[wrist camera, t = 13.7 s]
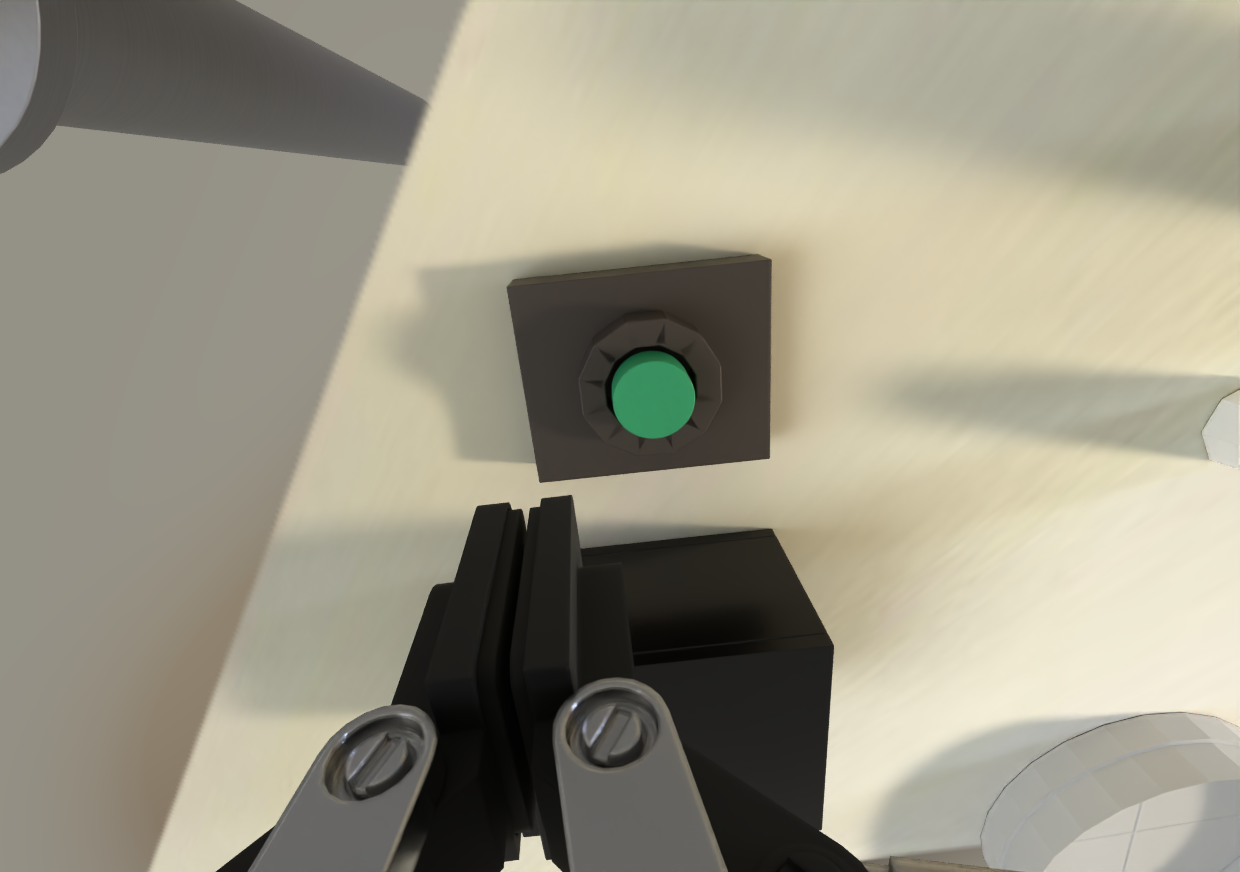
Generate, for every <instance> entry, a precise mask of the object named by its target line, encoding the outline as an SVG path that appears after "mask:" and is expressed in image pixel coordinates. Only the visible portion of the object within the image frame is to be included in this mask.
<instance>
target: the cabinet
mask: <svg viewBox="0 0 1240 872" xmlns="http://www.w3.org/2000/svg"><path fill="white" fill-rule="evenodd" d="M580 551H581V558H582V565H583V567H587V566H596V565H604V564H612V563H622V571H623V579H624V588H625V596H626V604H627V612H628V620H629V629H630V637H631V645H632V653H633V661H634V670H635V678H636V681H639V682H641V683H643V684H646V685H648V686H650V687H651V688H652V689H653V690H654V691H655V692H657V693H658V694H659V695H660V696H661V697H662V699H663V701H664V702H665V704H666V706H667V707H668V709H669V711H670V714H671V717H672V720H673V722H674V725H675V728H676V731H677V733H678V736H679V739H680V741H682V742H684V743H685V744H687V745H688V746H690V747H691V748H693V749H694V750H696V751H697V752H699V753H700V754H702V755H704V756H705V757H707V758H708V759H710V760H711V761H713V762H714V763H716V764H717V765H719V766H720V767H722V768H723V769H725V770H727V771H728V772H730V773H731V774H733V775H734V776H736V777H737V778H739V779H740V780H742V781H743V782H745V783H746V784H748V785H750V786H751V787H753V788H754V789H756V790H757V791H759V792H760V793H762V794H763V795H765V796H766V797H768V798H769V799H771V800H773V801H774V802H776V803H777V804H779V805H780V806H782V807H783V808H785V809H786V810H788V811H789V812H791V813H793V814H794V815H796V816H797V817H799V818H800V819H802V820H803V821H805V822H806V823H808V824H809V825H811V826H812V827H814V828H816V829H817V830H822V819H823V804H824V789H825V774H826V759H827V744H828V729H829V714H830V699H831V684H832V669H833V654H834V645H833V643H832V641H831V639H830V637H829V635H828V634H827V631H826V629H825V628H824V626H823V624H822V622H821V620H820V618H819V616H818V614H817V613H816V611H815V609H814V607H813V605H812V603H811V601H810V599H809V597H808V596H807V594H806V592H805V590H804V588H803V586H802V584H801V582H800V581H799V579H798V577H797V575H796V573H795V571H794V569H793V567H792V565H791V564H790V562H789V560H788V558H787V556H786V554H785V552H784V550H783V548H782V547H781V545H780V543H779V541H778V539H777V537H776V535H775V534H774V532H773V530H772V529H765V530H756V531H746V532H737V533H727V534H718V535H708V536H699V537H690V538H680V539H671V540H661V541H652V542H642V543H633V544H624V545H614V546H605V547H595V548H586V549H580ZM535 815H536V819H537V823H538V828H539V832H540V836H541V841H542V845H543V849H544V854H545V858H546V860H551V854H550V850H549V845H548V841H547V837H546V832H545V829H544V828H543V825H542V821H541V816H540V812H539V808H538V803H537V799H536V809H535Z"/></svg>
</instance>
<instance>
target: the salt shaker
mask: <svg viewBox="0 0 1240 872" xmlns="http://www.w3.org/2000/svg"><path fill="white" fill-rule="evenodd" d="M1202 436H1203V439H1204V443H1205V446H1206V450H1207V453H1208V457H1209V459H1210V460H1211V461H1213V462H1217V463H1220V464H1223V465H1226V466H1229V467H1232V468H1235V469H1238V470H1240V390H1238V391H1236V392H1235V393H1233V394H1231V395H1229V396H1227V397H1225V398H1223V399H1222V400H1221V401H1220V403H1219V404H1218V406H1217V408H1216V409H1215V411H1214V412H1213V414H1212V416H1211V417H1210V419H1209V421H1208V422H1207V424H1206V425H1205V427H1204V429H1203V430H1202Z"/></svg>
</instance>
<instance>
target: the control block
mask: <svg viewBox="0 0 1240 872" xmlns="http://www.w3.org/2000/svg"><path fill="white" fill-rule="evenodd" d="M771 267H772V260H771V259H768V258H766V257H764V256H761V255H758V254H757V255H747V256H738V257H728V258H718V259H709V260H699V261H689V262H680V263H670V264H660V265H651V266H641V267H631V268H622V269H612V270H602V271H593V272H583V273H573V274H564V275H554V276H544V277H535V278H525V279H515V280H512V282H511V283H510V284H509V285H508V286H507V292H508V298H509V304H510V310H511V316H512V322H513V328H514V334H515V340H516V346H517V352H518V357H519V363H520V369H521V375H522V381H523V387H524V393H525V399H526V405H527V411H528V417H529V423H530V429H531V435H532V441H533V447H534V453H535V459H536V465H537V470H538V476H539V482H540V483H542V482H552V481H561V480H571V479H580V478H590V477H599V476H609V475H618V474H628V473H637V472H647V471H656V470H666V469H675V468H685V467H694V466H704V465H713V464H723V463H732V462H742V461H751V460H761V459H769V458H770V381H771ZM644 351H660V352H664V353H667V354H669V355H671V356H673V357H674V358H676V359H677V360H678V361H679V362H680V363H681V364H682V366H683V367H684V369H685V370H686V372H687V374H688V376H689V378H690V380H691V382H692V384H693V387H694V391H695V405H694V409H693V412H692V414H691V416H690V418H689V420H688V421H687V422H686V423H685V425H684V426H683V427H682V428H680V429H679V430H678V431H676V432H675V433H673V434H671V435H669V436H666V437H662V438H654V439H650V438H643V437H639V436H636V435H634V434H632V433H631V432H629V431H628V430H626V429H625V428H624V427H623V426H622V425H621V424H620V422H619V421H618V419H617V417H616V415H615V412H614V408H613V401H612V381H613V377H614V375H615V373H616V371H617V369H618V368H619V366H620V365H621V364H622V363H623V362H624V361H625V360H626V359H628V358H629V357H631V356H632V355H635V354H637V353H640V352H644Z"/></svg>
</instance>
